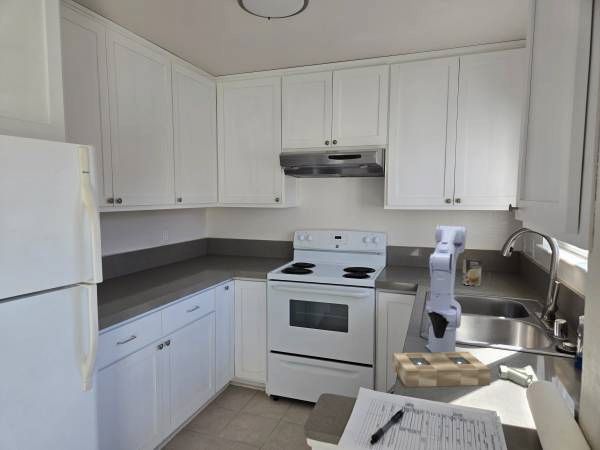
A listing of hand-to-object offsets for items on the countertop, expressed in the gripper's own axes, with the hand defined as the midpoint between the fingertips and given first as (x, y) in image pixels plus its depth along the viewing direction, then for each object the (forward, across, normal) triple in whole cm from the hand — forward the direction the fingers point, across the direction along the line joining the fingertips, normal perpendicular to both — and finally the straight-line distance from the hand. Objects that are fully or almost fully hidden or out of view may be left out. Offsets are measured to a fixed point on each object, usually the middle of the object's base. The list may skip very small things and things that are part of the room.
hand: (438, 337), depth 111 cm
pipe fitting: (+11, +8, +20) cm, 24 cm away
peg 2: (+10, +3, +5) cm, 12 cm away
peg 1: (+10, +3, -7) cm, 13 cm away
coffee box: (+10, -111, +72) cm, 133 cm away
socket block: (+10, +3, -1) cm, 11 cm away
